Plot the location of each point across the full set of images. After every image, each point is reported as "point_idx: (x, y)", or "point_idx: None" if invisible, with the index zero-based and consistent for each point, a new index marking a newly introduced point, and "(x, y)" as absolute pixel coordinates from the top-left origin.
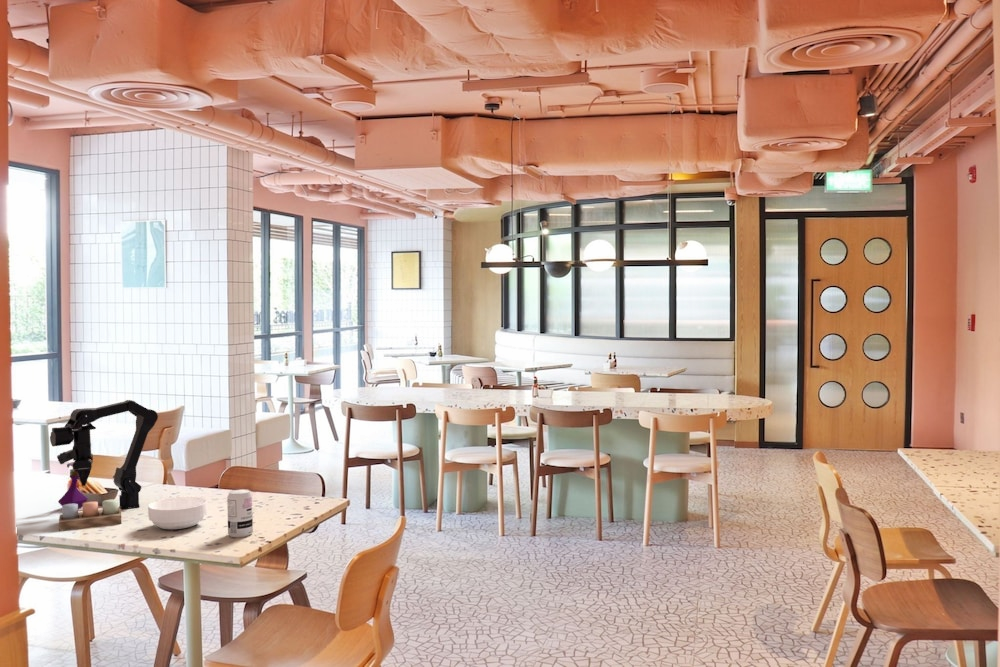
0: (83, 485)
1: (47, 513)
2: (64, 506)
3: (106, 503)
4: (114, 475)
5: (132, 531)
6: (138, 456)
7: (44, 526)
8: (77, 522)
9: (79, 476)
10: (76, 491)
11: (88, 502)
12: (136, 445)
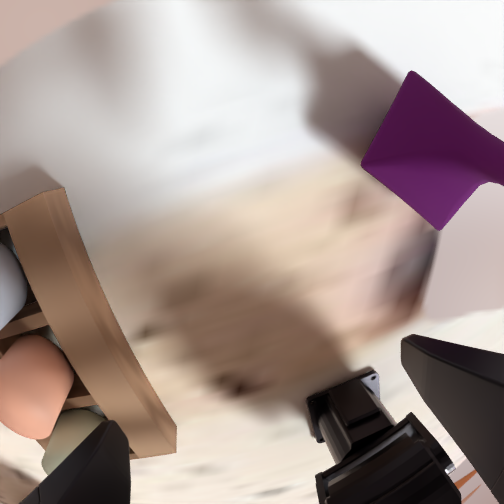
0: (111, 430)
1: (316, 38)
2: None
3: (43, 463)
4: (435, 477)
5: (3, 460)
6: None
7: (12, 136)
8: None
9: (25, 500)
10: (460, 179)
11: (23, 400)
12: None
